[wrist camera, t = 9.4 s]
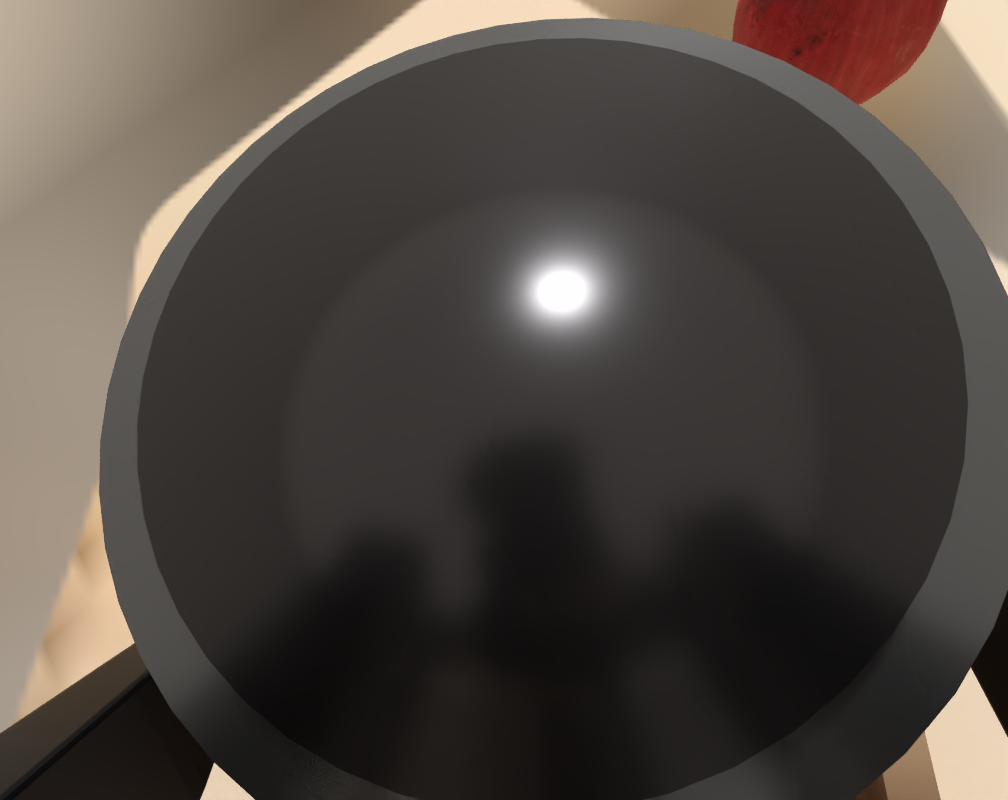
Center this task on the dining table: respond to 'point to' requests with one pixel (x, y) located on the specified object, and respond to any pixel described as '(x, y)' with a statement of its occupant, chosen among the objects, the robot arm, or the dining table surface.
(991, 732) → the dining table surface
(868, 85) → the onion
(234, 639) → the tin
